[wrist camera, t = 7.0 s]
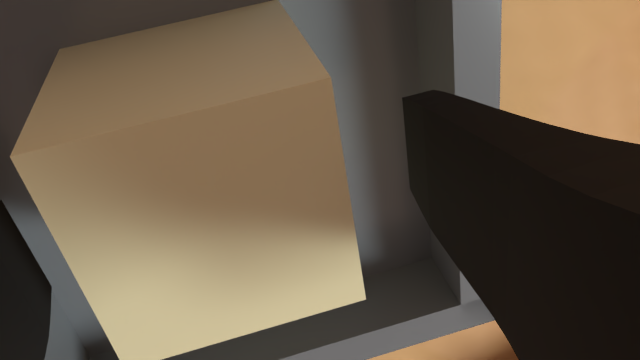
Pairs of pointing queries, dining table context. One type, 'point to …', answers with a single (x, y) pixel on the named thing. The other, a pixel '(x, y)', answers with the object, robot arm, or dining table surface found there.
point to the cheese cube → (195, 180)
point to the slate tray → (357, 144)
